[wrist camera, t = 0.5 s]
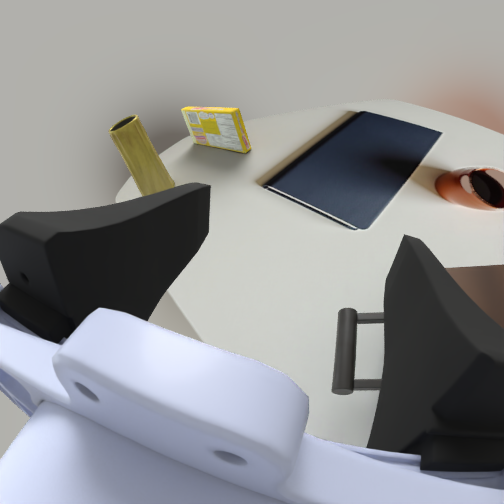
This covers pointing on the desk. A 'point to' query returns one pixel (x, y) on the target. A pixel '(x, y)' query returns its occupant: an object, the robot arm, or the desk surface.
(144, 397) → the robot arm
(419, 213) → the desk surface
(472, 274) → the cabinet
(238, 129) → the candy box
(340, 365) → the drawer
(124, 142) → the vase
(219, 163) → the desk surface
